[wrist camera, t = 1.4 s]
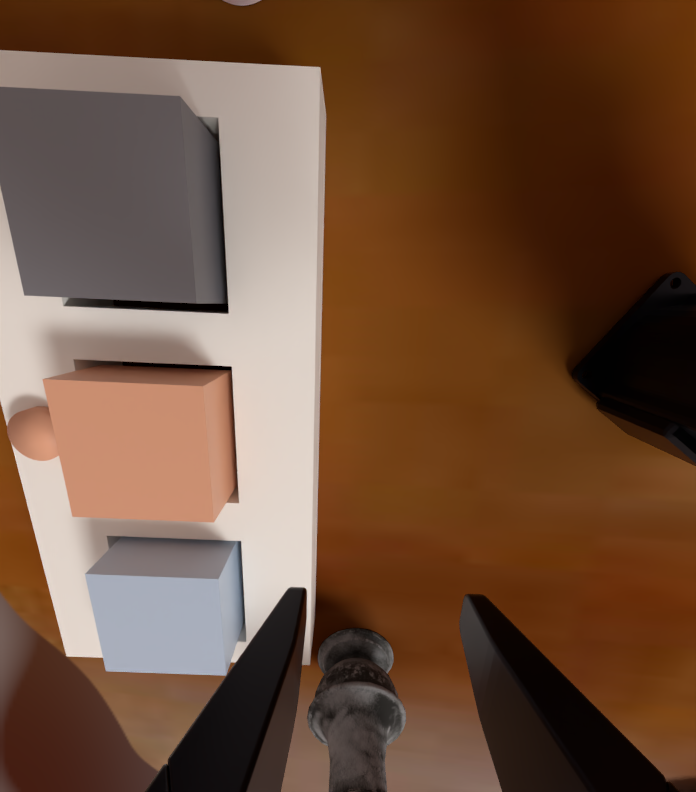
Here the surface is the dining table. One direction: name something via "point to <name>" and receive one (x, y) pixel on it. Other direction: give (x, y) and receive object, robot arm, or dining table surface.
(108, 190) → the charcoal key
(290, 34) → the dining table surface
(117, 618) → the blue key
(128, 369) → the terracotta key
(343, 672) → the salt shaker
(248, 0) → the smoothie
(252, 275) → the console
